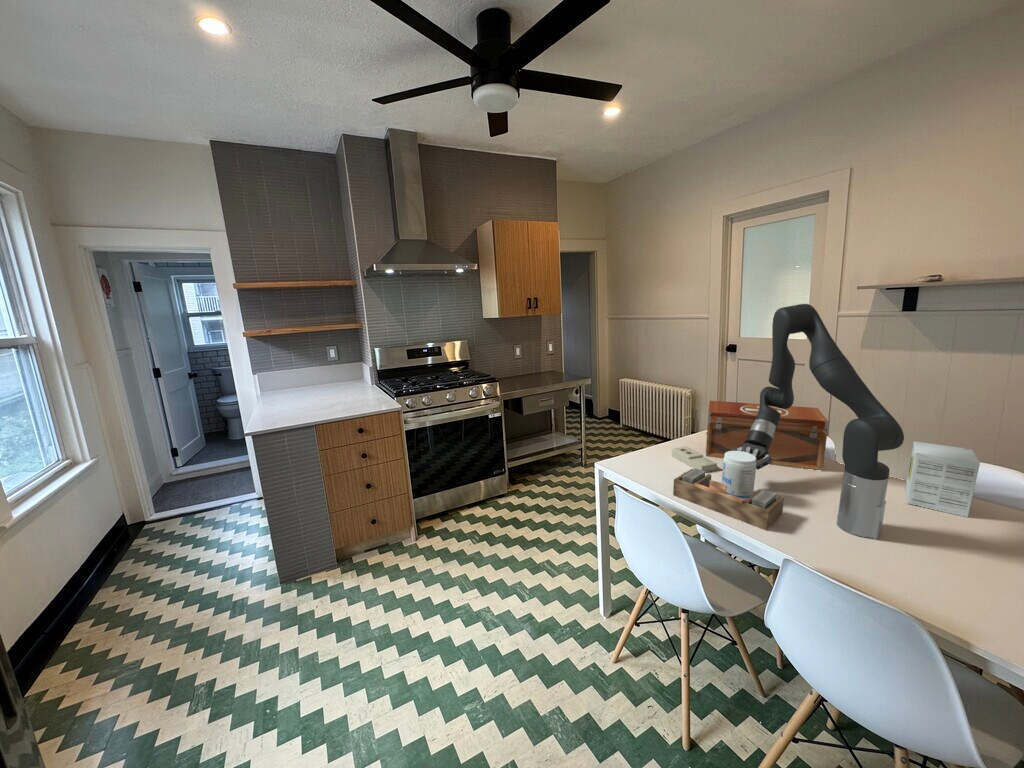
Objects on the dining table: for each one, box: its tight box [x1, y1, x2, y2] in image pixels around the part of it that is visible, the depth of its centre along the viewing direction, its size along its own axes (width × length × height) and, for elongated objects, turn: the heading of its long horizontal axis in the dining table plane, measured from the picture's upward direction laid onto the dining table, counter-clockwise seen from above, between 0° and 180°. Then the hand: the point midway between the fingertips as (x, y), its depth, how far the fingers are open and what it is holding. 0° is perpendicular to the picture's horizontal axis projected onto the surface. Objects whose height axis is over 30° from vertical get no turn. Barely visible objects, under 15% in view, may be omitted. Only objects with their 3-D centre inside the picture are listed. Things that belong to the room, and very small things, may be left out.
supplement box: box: [905, 440, 981, 518], centre depth 121 cm, size 13×13×18 cm
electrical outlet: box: [671, 446, 718, 473], centre depth 160 cm, size 7×4×18 cm
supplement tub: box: [721, 451, 757, 501], centre depth 131 cm, size 10×10×15 cm
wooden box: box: [705, 400, 830, 472], centre depth 163 cm, size 20×41×20 cm, turn 62°
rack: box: [672, 468, 785, 531], centre depth 127 cm, size 29×13×10 cm, turn 38°
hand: (743, 476), depth 135 cm, fingers closed
